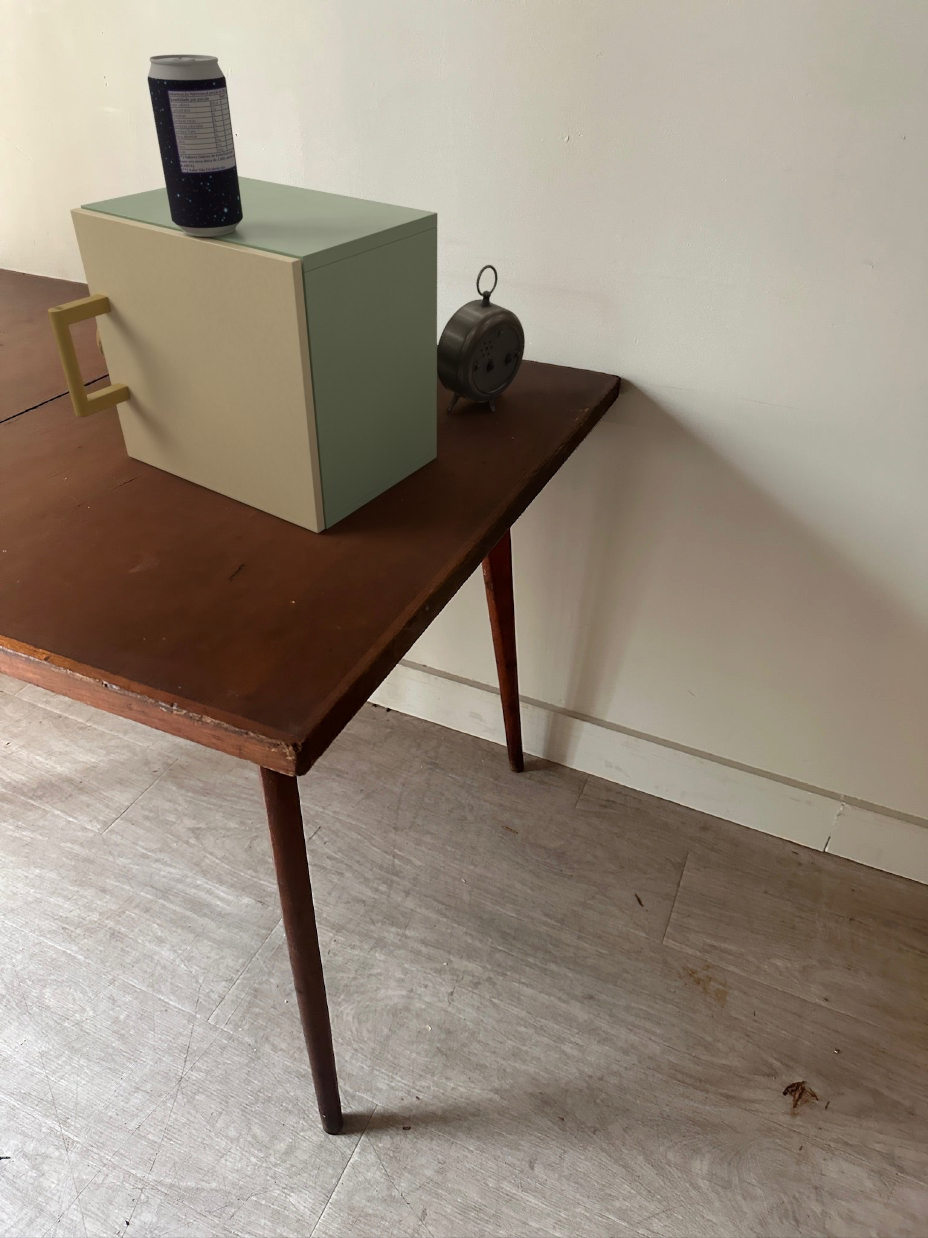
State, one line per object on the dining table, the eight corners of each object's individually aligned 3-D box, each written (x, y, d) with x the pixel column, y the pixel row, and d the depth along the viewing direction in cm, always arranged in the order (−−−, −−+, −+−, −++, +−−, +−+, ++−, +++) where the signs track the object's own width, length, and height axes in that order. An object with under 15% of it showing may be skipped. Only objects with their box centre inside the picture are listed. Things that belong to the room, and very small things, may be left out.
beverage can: (253, 223, 73) (233, 55, 66) (232, 240, 69) (208, 62, 62) (188, 219, 74) (161, 52, 66) (163, 237, 69) (131, 59, 62)
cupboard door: (274, 561, 76) (237, 279, 61) (82, 477, 87) (11, 221, 73) (325, 529, 81) (301, 258, 66) (135, 452, 92) (79, 207, 77)
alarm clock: (497, 387, 108) (503, 251, 98) (528, 400, 105) (539, 261, 95) (432, 411, 102) (433, 268, 92) (464, 426, 99) (468, 280, 89)
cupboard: (326, 529, 81) (303, 256, 66) (137, 453, 92) (80, 205, 77) (436, 457, 93) (437, 212, 78) (257, 397, 104) (227, 173, 89)
